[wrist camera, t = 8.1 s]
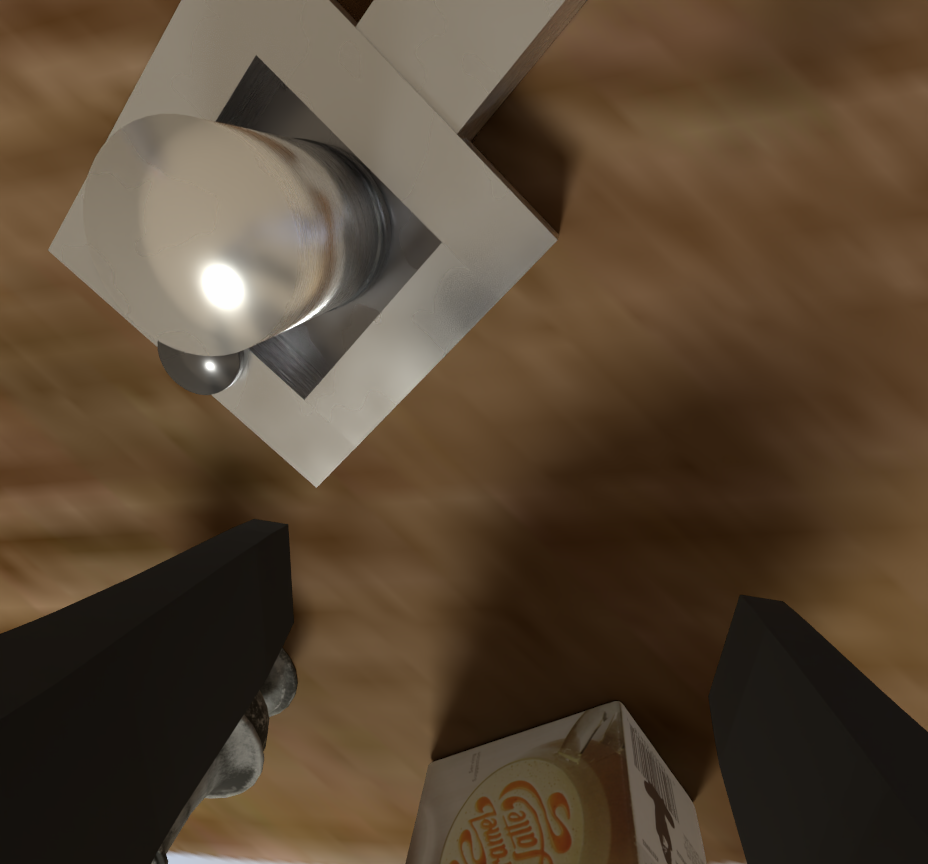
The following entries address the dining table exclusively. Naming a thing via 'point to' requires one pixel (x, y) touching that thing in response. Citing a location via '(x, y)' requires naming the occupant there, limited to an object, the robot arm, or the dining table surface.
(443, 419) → the dining table surface
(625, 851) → the coffee box
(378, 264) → the shiny metal cylinder
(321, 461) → the grey piece
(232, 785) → the grey figurine
